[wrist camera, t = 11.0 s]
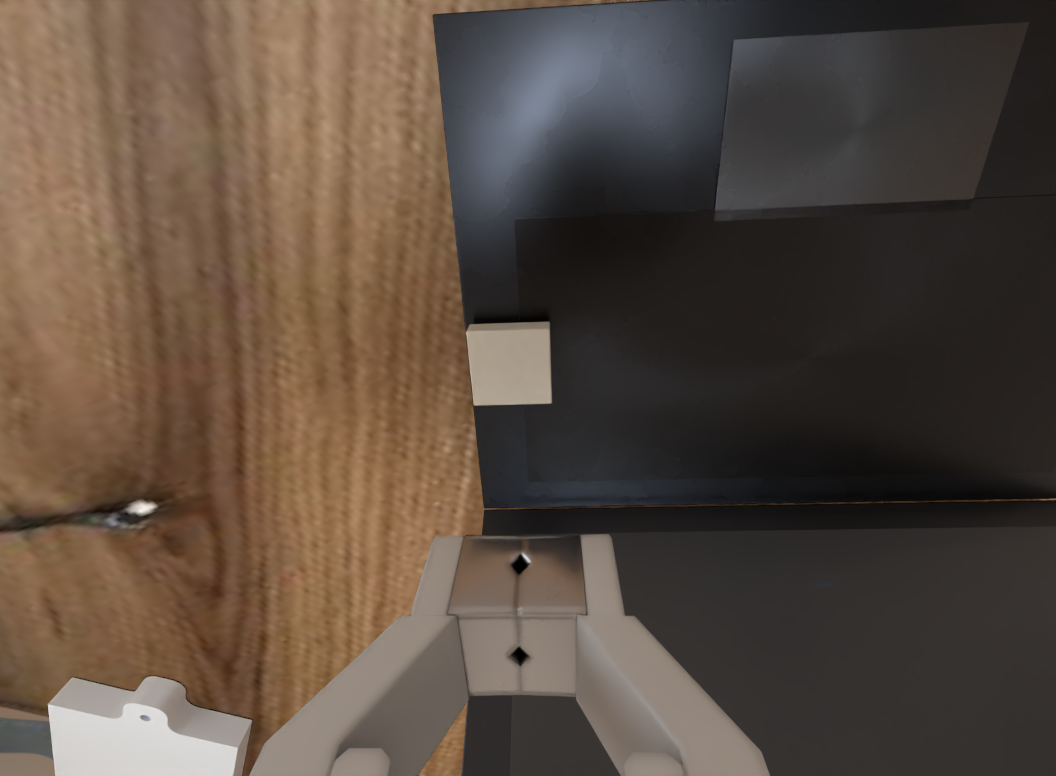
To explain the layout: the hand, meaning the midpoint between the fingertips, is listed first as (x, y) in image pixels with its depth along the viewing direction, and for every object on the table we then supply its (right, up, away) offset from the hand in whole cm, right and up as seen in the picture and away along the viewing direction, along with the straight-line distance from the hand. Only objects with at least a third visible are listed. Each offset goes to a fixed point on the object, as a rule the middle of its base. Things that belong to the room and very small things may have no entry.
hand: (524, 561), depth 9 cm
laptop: (+12, +7, +13) cm, 20 cm away
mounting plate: (-29, -25, +30) cm, 49 cm away
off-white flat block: (-1, +5, +13) cm, 14 cm away
